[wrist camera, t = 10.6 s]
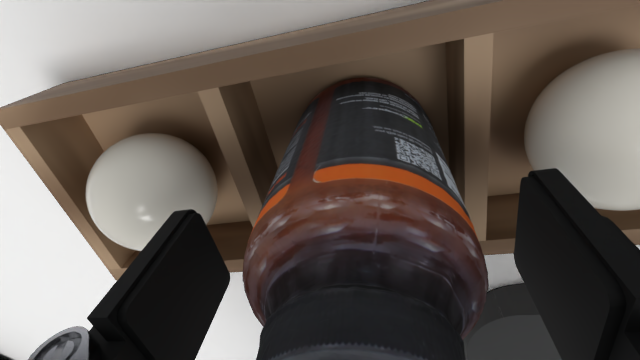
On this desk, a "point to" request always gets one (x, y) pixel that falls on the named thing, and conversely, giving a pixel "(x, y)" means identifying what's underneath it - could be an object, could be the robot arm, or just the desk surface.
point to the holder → (311, 79)
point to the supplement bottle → (364, 237)
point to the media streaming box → (510, 329)
